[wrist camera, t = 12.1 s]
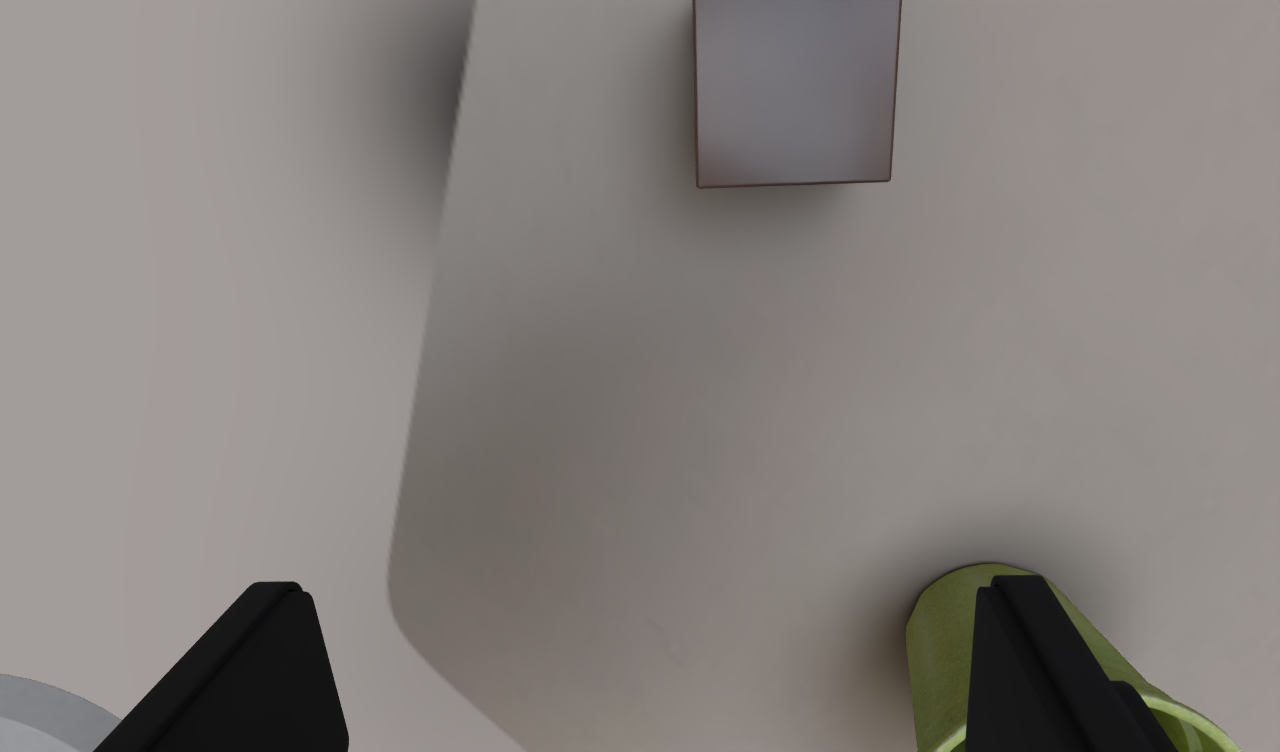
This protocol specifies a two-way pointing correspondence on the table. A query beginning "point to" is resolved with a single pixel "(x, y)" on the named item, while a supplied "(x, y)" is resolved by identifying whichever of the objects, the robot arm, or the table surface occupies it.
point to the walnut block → (794, 91)
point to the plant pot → (945, 665)
